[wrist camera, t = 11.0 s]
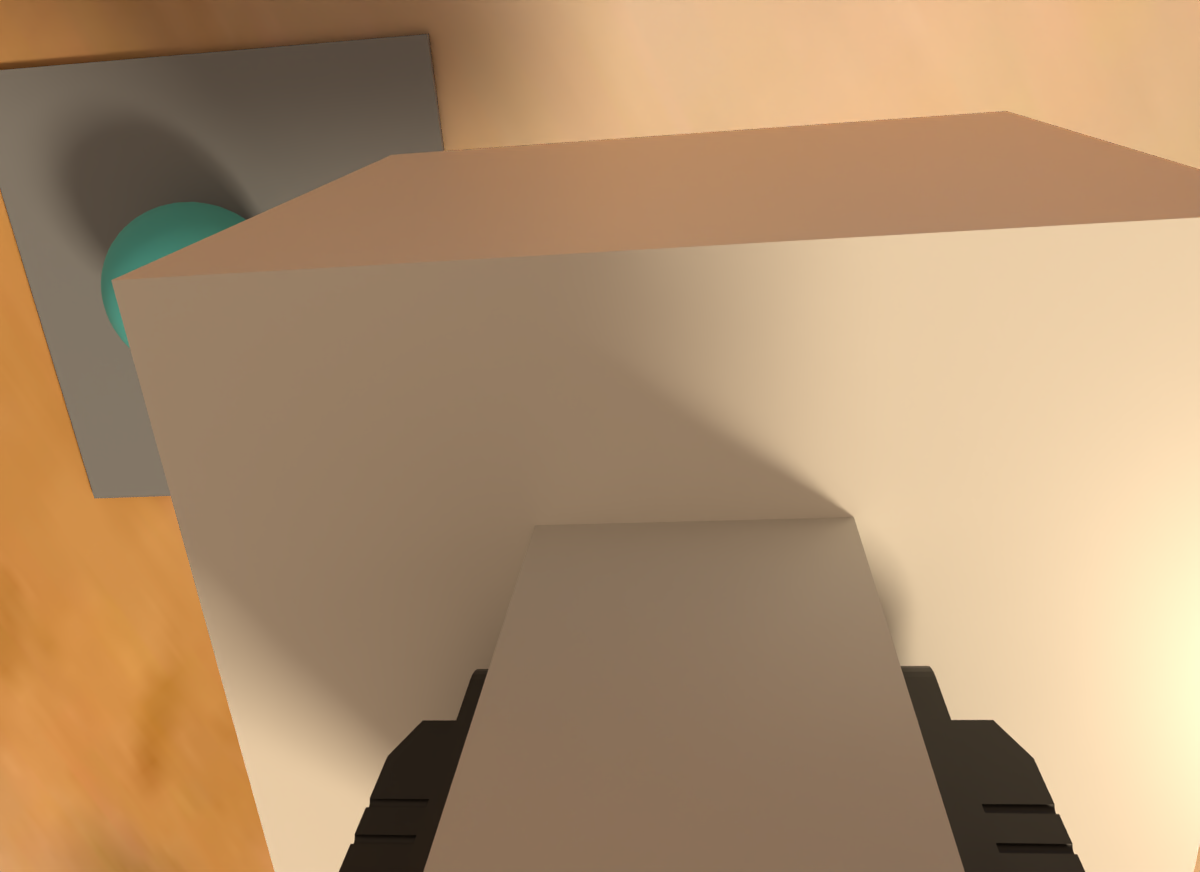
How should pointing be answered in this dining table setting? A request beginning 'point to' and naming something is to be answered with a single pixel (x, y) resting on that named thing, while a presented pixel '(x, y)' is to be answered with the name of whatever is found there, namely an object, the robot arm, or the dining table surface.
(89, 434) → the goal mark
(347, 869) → the robot arm
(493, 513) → the cream plinth with post
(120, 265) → the ball
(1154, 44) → the dining table surface
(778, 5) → the dining table surface
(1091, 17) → the dining table surface
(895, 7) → the dining table surface
